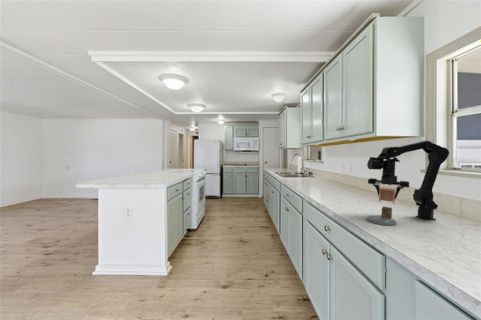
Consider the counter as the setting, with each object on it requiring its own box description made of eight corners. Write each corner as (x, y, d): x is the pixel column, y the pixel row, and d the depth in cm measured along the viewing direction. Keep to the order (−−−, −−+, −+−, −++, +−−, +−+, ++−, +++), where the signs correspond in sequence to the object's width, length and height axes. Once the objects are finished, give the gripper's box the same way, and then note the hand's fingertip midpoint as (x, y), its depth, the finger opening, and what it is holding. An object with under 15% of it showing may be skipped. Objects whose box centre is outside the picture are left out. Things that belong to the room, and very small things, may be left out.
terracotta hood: (395, 201, 126) (395, 188, 125) (394, 204, 120) (394, 189, 120) (380, 199, 130) (381, 186, 130) (378, 201, 124) (379, 188, 124)
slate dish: (382, 217, 123) (382, 215, 123) (402, 225, 110) (402, 222, 110) (360, 217, 122) (360, 215, 122) (378, 225, 109) (378, 223, 109)
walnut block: (391, 216, 126) (392, 207, 125) (390, 218, 122) (391, 209, 122) (382, 215, 128) (382, 206, 128) (381, 216, 125) (381, 207, 125)
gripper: (366, 169, 124) (365, 197, 124) (409, 172, 112) (407, 203, 113) (370, 168, 132) (368, 195, 133) (410, 170, 121) (408, 199, 122)
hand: (387, 198), depth 125 cm, fingers closed on terracotta hood, 7 cm apart
